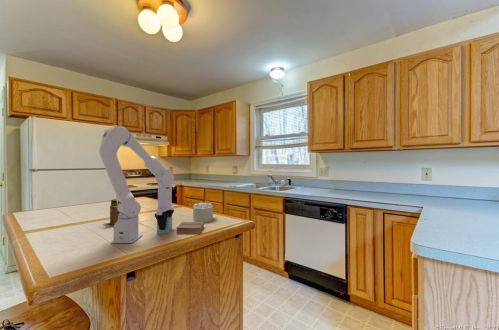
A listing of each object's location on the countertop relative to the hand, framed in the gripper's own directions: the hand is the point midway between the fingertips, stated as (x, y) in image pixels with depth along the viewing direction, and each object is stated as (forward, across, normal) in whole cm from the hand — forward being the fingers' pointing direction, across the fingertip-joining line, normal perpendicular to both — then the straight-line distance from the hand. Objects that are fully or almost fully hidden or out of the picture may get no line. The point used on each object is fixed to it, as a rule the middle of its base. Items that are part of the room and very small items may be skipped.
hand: (164, 227), depth 105 cm
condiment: (+2, +12, +28) cm, 31 cm away
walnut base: (+2, +2, -11) cm, 11 cm away
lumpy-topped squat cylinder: (+2, +22, -13) cm, 26 cm away
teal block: (+2, 0, 0) cm, 2 cm away
